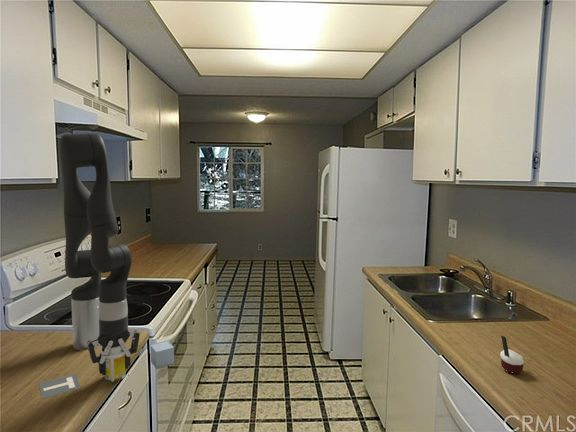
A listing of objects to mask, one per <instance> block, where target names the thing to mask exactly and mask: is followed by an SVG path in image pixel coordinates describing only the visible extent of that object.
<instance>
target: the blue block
mask: <svg viewBox="0 0 576 432" xmlns="http://www.w3.org/2000/svg"><path fill="white" fill-rule="evenodd" d="M150 363H151V364H152V365H153V366H154V367H155V369H156V370H157V369H160V368H164V367H167V366H172V365H174V364H175V347H174V346H173V345H172V344H171V343H170V341H168V340H166V341H162V342H159V343H155V344H151V345H150Z"/></svg>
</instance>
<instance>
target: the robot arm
mask: <svg viewBox="0 0 576 432" xmlns="http://www.w3.org/2000/svg"><path fill="white" fill-rule="evenodd" d="M107 152H108V151H107V148H106V144H105V142H104V139H103V138H102V136H101V135H100V134H98V133H67V134H63V135H62V136H60V140H59V157H60V165H61V172H62V181H63V182H62V183H63V220H64V222H63V223H64V230H65V231H64V233H65V254H64V270H65V274H66V276H67V277H68V278H69V279H84V278H89V280H88V281H86V282H85V283H83V284H80V285H77V286H76V287H74V288H73V289H72V290H71V293H70V295H71V296H70V298H71V321H72V324H71V325H72V345H73V346H72V347H73V349H74V350H76V351H83V350H87V349H88V352H89V357H90V360H91V363H92V364H98V372H99V374H100V375H102V376H104V375H105V362H104V361H105V358H106V356H107V355H108V353H109V350H110V348H113V347H117V346H121V347H122V349H123V351H124V352H125V370H129V367H131V356H132V355H133V354H136V353H137V352H138V347H139V340H140V336H141V335H140V332H138V331H137V330H134V331H129V317H128V316H129V314H128V313H129V309H128V301H127V299H128V298H127V283H128V279H129V275H130V271H131V267H132V263H133V256H132V252H131V250H130V248H129V247H128V246H127V245H125V244H123V243H120V244H119V243H118V244H112V245H109V243H110V239H111V238H112V237H115V236H116V235H118V234H119V231H120V230H119V225H118V221H117V217H116V212H115V209H114V204H113V200H112V190H111V189H112V188H111V177H110V170H109V161H108V153H107ZM89 167H94V169H95V182H94V184H93V185H94V186H93V188H92V191H89V189H88V188H87V187H86V186H85V185H84V183H83V182H82V181H81V179H80V178H79V176H78V173H77V169H79V168H89ZM90 234H91V235H90ZM89 235H90V236H91V237H90V238H91V239H90V249H85V250H84V249H83V250H79V248H80V246H81V244H82V243H83V241H84V240H85V239H86V238H87V237H88V236H89ZM106 273H109V274H108V276H107V277H105V278H103V279H102V274H106ZM129 338H130V339H131V343H130V348H128V346H127V345H126V343H127V341H128V340H129ZM97 347H101V349H100V352H99V354H98V356H97V354H96V350H95V349H97Z"/></svg>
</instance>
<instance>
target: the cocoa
mask: <svg viewBox="0 0 576 432" xmlns="http://www.w3.org/2000/svg"><path fill="white" fill-rule="evenodd" d="M501 342H502V347H503V350H501V351H500V362H501V368H502V367H503V368H504V369H505V370H507V371H509V372H513V373H518V374H519V373H522V372H523V368H524V363H525V360H524V357H523V355H521V354H519V353H517V352H516V351H514V350H512V349H509V347H508V342H507V338H506V336H503V335H501ZM503 368H502V369H503ZM504 369H503V370H504ZM505 370H504V371H505Z"/></svg>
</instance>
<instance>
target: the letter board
mask: <svg viewBox="0 0 576 432" xmlns="http://www.w3.org/2000/svg"><path fill="white" fill-rule="evenodd" d="M38 384H39V391H40V395H41V399H43V400H44V399H46V398H50V397H53V396H54V397H55V396H57V395H61V394H64V393H68V392H71V391H72V392H73V391H75V390H78V389H81V388H82V387H81V384H80V381H79V379H78V376H77V374H76V373H72V374H68V375H65V376H62V377H57V378H54V379H49V380H46V381H42V382H39V383H38Z"/></svg>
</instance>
